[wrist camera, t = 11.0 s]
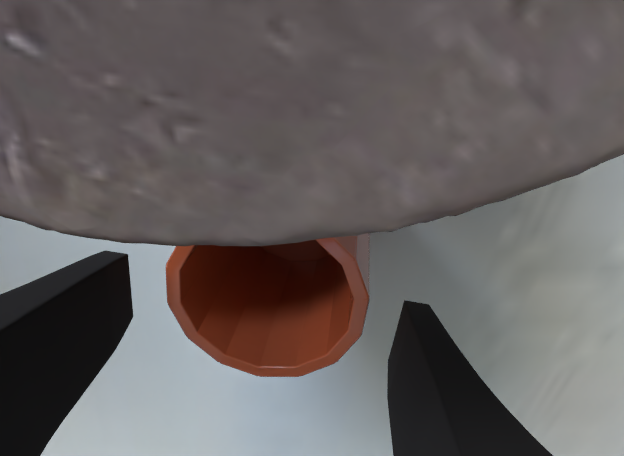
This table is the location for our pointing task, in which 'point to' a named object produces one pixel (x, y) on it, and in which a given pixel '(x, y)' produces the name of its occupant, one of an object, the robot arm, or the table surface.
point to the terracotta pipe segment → (272, 302)
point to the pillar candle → (296, 112)
